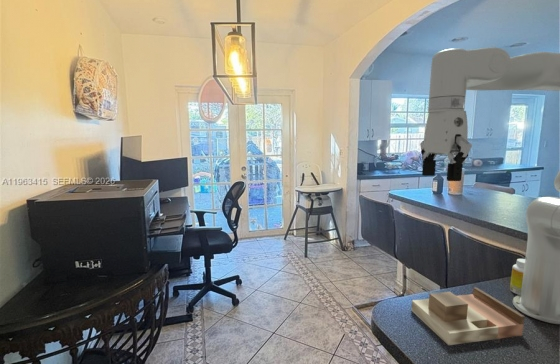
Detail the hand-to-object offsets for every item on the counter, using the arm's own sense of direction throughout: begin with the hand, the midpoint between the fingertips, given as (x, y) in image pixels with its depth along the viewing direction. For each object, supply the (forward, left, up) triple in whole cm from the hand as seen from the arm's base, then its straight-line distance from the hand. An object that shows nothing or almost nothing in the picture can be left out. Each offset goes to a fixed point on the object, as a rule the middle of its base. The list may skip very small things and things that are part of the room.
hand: (440, 178), depth 72 cm
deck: (-5, +6, -37) cm, 38 cm away
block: (-1, +4, -34) cm, 35 cm away
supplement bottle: (-35, +12, -38) cm, 53 cm away
